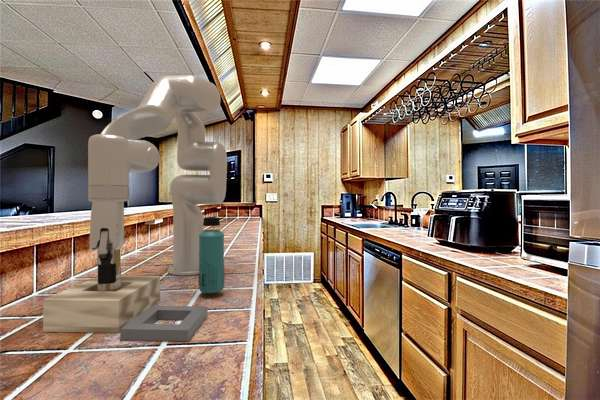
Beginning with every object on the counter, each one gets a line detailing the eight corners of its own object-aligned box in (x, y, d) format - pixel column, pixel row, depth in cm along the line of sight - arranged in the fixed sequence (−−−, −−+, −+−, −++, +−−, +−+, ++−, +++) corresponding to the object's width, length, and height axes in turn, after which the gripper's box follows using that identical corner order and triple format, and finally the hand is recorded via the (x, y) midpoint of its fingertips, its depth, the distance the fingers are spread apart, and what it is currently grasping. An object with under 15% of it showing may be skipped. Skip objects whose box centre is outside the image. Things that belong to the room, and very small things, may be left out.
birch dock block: (101, 299, 79) (101, 274, 79) (159, 300, 79) (159, 275, 79) (43, 331, 61) (43, 299, 61) (118, 332, 61) (118, 300, 61)
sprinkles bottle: (122, 304, 70) (122, 241, 69) (97, 308, 67) (97, 242, 67) (120, 298, 74) (120, 238, 73) (96, 301, 71) (96, 239, 71)
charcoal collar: (151, 314, 70) (151, 305, 70) (207, 315, 70) (207, 306, 70) (120, 340, 58) (120, 329, 58) (188, 341, 58) (188, 330, 58)
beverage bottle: (229, 292, 86) (230, 216, 86) (214, 300, 80) (215, 218, 79) (208, 290, 88) (208, 215, 88) (192, 297, 82) (192, 217, 82)
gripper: (98, 193, 76) (98, 271, 77) (76, 195, 60) (77, 293, 61) (134, 193, 79) (134, 269, 79) (122, 195, 63) (122, 290, 64)
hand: (109, 279), depth 70 cm, fingers closed on sprinkles bottle, 4 cm apart
